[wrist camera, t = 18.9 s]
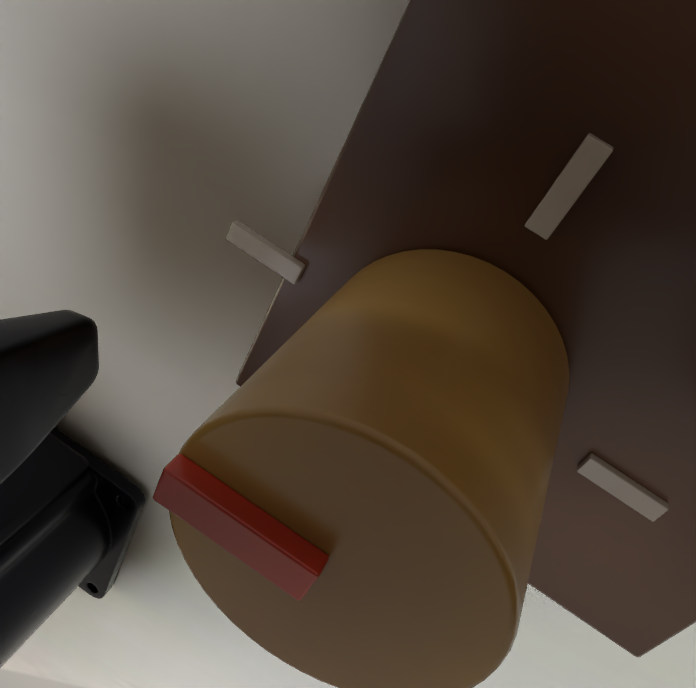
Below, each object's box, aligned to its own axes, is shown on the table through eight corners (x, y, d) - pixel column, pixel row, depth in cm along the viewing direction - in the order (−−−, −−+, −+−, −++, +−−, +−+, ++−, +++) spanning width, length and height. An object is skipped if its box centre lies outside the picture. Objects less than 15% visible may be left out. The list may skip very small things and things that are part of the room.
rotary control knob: (629, 345, 9) (608, 616, 5) (480, 505, 11) (391, 774, 8) (389, 196, 9) (203, 346, 6) (293, 380, 12) (117, 577, 8)
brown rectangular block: (608, 569, 15) (598, 691, 12) (247, 326, 16) (168, 394, 13) (1376, -23, 7) (1775, -24, 5) (584, -439, 8) (549, -634, 5)
